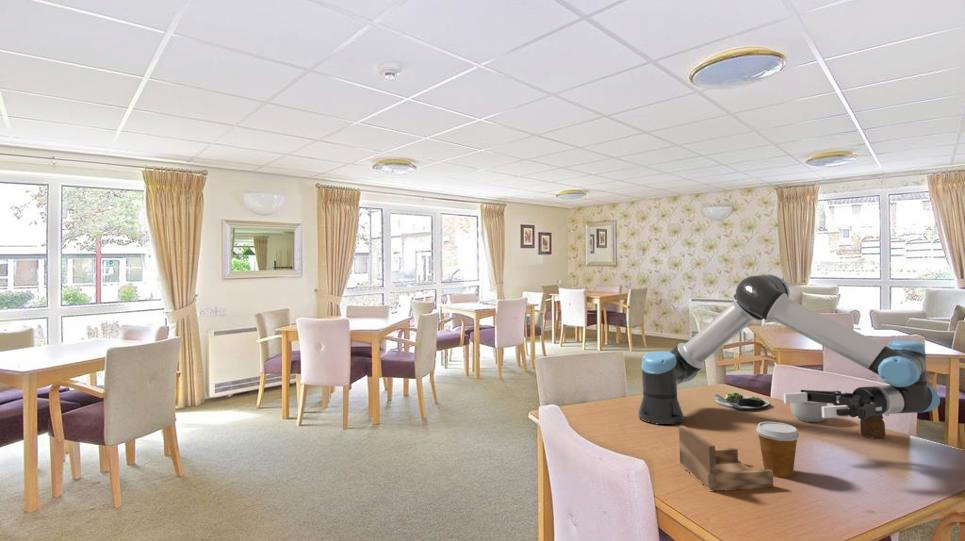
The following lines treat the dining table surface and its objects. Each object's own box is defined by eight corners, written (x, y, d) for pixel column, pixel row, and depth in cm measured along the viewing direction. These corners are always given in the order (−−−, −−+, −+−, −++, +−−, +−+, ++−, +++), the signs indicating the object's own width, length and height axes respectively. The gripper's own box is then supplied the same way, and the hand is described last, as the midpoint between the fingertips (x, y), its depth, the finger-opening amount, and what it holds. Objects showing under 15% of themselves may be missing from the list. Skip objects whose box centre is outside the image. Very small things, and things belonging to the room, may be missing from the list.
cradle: (735, 462, 128) (734, 422, 128) (773, 487, 113) (771, 442, 113) (680, 465, 127) (678, 425, 127) (710, 491, 112) (709, 446, 112)
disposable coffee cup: (749, 466, 126) (748, 422, 126) (782, 463, 126) (780, 420, 126) (774, 481, 116) (772, 434, 116) (809, 479, 117) (808, 432, 117)
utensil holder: (879, 440, 141) (878, 401, 141) (855, 434, 146) (854, 396, 146) (889, 436, 143) (887, 398, 143) (865, 430, 149) (863, 393, 149)
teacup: (834, 425, 155) (833, 401, 155) (798, 424, 157) (797, 400, 157) (813, 412, 169) (812, 390, 169) (780, 411, 171) (780, 390, 171)
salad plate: (701, 402, 187) (700, 390, 187) (730, 395, 195) (730, 384, 195) (746, 414, 170) (745, 402, 170) (776, 407, 177) (776, 395, 177)
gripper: (923, 429, 114) (842, 434, 113) (838, 402, 139) (771, 406, 137) (921, 398, 114) (840, 403, 113) (837, 377, 139) (770, 381, 138)
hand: (802, 405), depth 125 cm, fingers open, 13 cm apart
